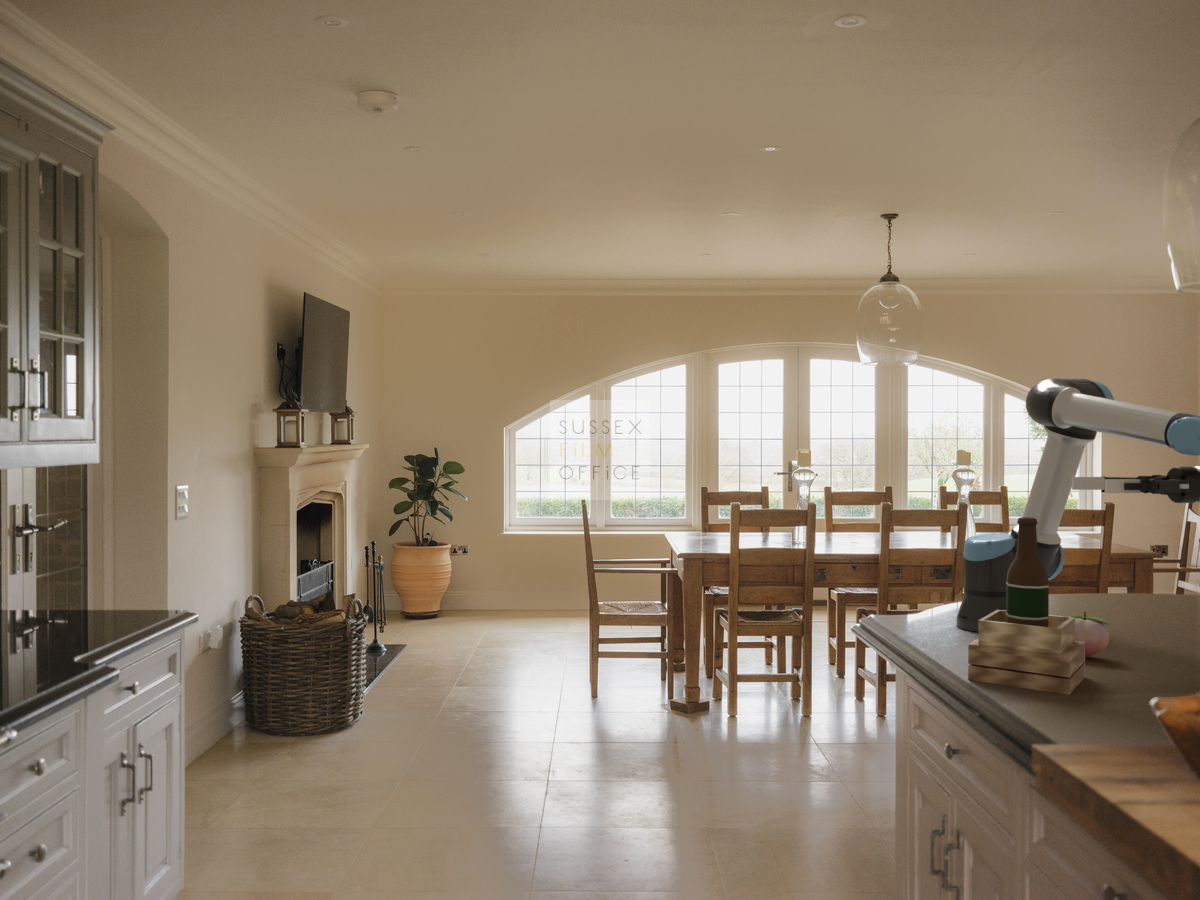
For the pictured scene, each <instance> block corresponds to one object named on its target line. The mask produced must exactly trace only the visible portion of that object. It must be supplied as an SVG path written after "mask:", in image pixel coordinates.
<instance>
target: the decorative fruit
mask: <svg viewBox="0 0 1200 900" xmlns="http://www.w3.org/2000/svg"><path fill="white" fill-rule="evenodd" d="M1067 617H1075V641H1080V642H1085V659H1086V658H1089V657H1092V656H1094V655H1097V654H1099V653H1101V652H1102V651H1104V650H1105V649H1106V647H1107V646H1108V645H1109V642H1110V634H1109V630H1108V628H1107V626H1110V624H1109V623H1108V622H1107V620H1105V619H1103V618H1102V617H1098V616H1087V612H1086V611H1084V612H1083V616H1082V615H1078V614H1077V615H1068V616H1067Z"/></svg>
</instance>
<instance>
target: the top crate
mask: <svg viewBox="0 0 1200 900" xmlns="http://www.w3.org/2000/svg"><path fill="white" fill-rule="evenodd" d="M977 634H978V637H977V638H978V645H984V646H992V647H1000V648H1008V649H1016V650H1024V651H1032V652H1040V653H1048V654H1056V655H1061V654H1062V653H1063V652H1064V651H1065V650H1066V649H1067V648H1068V647H1070V646H1071V645H1072V644H1073V643H1074V642H1075V617H1068V616H1064V615H1054V614H1049V627H1042V626H1033V625H1023V624H1014V623H1006V610H996V611H994V612H992V613H990V614H989V615H987V616H985V617H983V618H982V619H980V620H978V632H977Z"/></svg>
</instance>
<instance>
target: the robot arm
mask: <svg viewBox="0 0 1200 900" xmlns="http://www.w3.org/2000/svg"><path fill="white" fill-rule="evenodd" d="M1025 398H1026V399H1025V409H1026V411H1027V414H1028V415H1029V417H1030V418H1031V420H1033V421H1034V422H1036V423H1037V424H1039V425H1042V426H1043V428H1044V431H1045V432H1046V433H1047V438H1046V441H1045V445H1044V448H1043V451H1042V455H1041V457H1040V461H1039V464H1038V466H1037V470H1036V474H1035V476H1034V479H1033V482H1032V486H1031V489H1030V491H1029V492H1030V493H1029V496H1028V498H1027V499H1028V500H1027V501H1026V505H1025V508H1024V511H1023V515H1022V517H1031V518H1035V519H1037V522H1038V524H1037V525H1036V533H1037V549H1038V556H1039V560H1040V561H1041V563H1042V564H1043V566H1044V567H1045V570H1046V572H1047V575H1048V581H1051V580H1052V579H1055V578H1056V577H1057V576H1058V575H1059V574H1060V573H1061V571H1062V569H1063V567H1064V564H1065V553H1063V551H1064V550H1063V546H1062V545H1061V542H1062V538H1061V537H1060V535H1059V534H1058V529H1059V527H1060V524H1061V520H1062V518H1063V514H1064V512H1065V509H1066V505H1067V502H1068V499H1069V496H1070V493H1071V490H1072V491H1073V490H1076V491H1082V490H1083V491H1085V490H1086V491H1088V490H1090V491H1091V490H1093V491H1095V490H1096V491H1101V493H1105V494H1140V493H1143V494H1148V493H1150V494H1152V495H1162V496H1163V495H1164V496H1167V497H1168V498H1169V499H1170V501H1172V502H1173V503H1175V504H1195V503H1196V504H1197V503H1199V504H1200V465H1199V466H1198V465H1195V466H1174V467H1172V468H1170V469H1169V470H1168V472H1167V473H1166V475H1162V474H1153V475H1138V476H1137V477H1130V476H1129V477H1121V476H1119V477H1118V476H1117V477H1115V476H1104V475H1103V476H1076V475H1077V472H1078V470H1079V466H1080V462H1081V460H1082V457H1083V454H1084V450H1085V448H1086V445H1087V444H1089V443H1091V442H1093V441H1095V439H1096V437H1097V435H1098V434H1097V433H1103V434H1106V435H1107V434H1108V435H1111V436H1115V437H1120V438H1124V439H1129V440H1134V441H1138V442H1144V443H1147V444H1150V445H1156V446H1160V447H1165V448H1169V449H1173V451H1175V452H1177V453H1179V454H1182V455H1188V456H1195V457H1197V456H1200V415H1195V414H1190V413H1185V412H1180V411H1179V412H1178V411H1175V410H1174V411H1173V410H1168V409H1162V408H1157V407H1154V406H1148V405H1142V404H1136V403H1132V402H1128V401H1121V400H1116V399H1115V397H1114V395H1113V394H1112V392H1111V389H1110V388H1109V387H1108V386H1107V385H1105V384H1104V383H1102V382H1100V381H1098V380H1092V379H1088V378H1087V379H1086V378H1059V377H1058V378H1057V377H1056V378H1055V377H1053V378H1052V377H1051V378H1046V379H1042V380H1041V381H1039V382H1036V383H1035V384H1034V385H1033V386H1032V387H1030V389H1029V391H1028V392H1027V396H1026V397H1025ZM1018 529H1019V524H1018V523H1016V524H1014V525H1013V526H1012V528H1011V531H1010V534H1008V533H999V532H997V533H993V532H992V533H981V534H976V535H972V536H969V537H968V538H967V539H966V540H965V541H964V548H963V549H964V550H963V553H962V555H963V597H962V600H961V602H960V603H961V604H960V607H959V609H958V612H957V615H956V627H958V628H959V629H963V630H964V631H965V630H966V631H971V632H977V633H978V620H980V619H982V618H983V617H985V616H987V615H989V614H990V613H992V612H994V611H996V610H1006V581H1007V572H1008V569H1009V567H1010V565H1011V563H1012V562H1013V561H1014V559H1015V558H1016V553H1017V544H1018Z"/></svg>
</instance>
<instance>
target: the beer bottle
mask: <svg viewBox="0 0 1200 900" xmlns="http://www.w3.org/2000/svg"><path fill="white" fill-rule="evenodd" d="M1016 524H1019V529H1018V544H1017V553H1016V558H1015V559H1014V561H1013V562H1012V563H1011V565H1010V567H1009V569H1008V572H1007V581H1006V623H1014V624H1023V625H1033V626H1042V627H1049V615H1050V614H1049V609H1050V608H1049V606H1050V605H1049V599H1050V598H1049V594H1050V593H1049V592H1050V590H1049V588H1050V585H1049V580H1048V575H1047V572H1046V570H1045V567H1044V566H1043V564H1042V563H1041V561H1040V560H1039V556H1038V549H1037V533H1036V525H1037V524H1038V522H1037V519H1035V518H1031V517H1023V516H1022V517H1018V518H1017V523H1016Z"/></svg>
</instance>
